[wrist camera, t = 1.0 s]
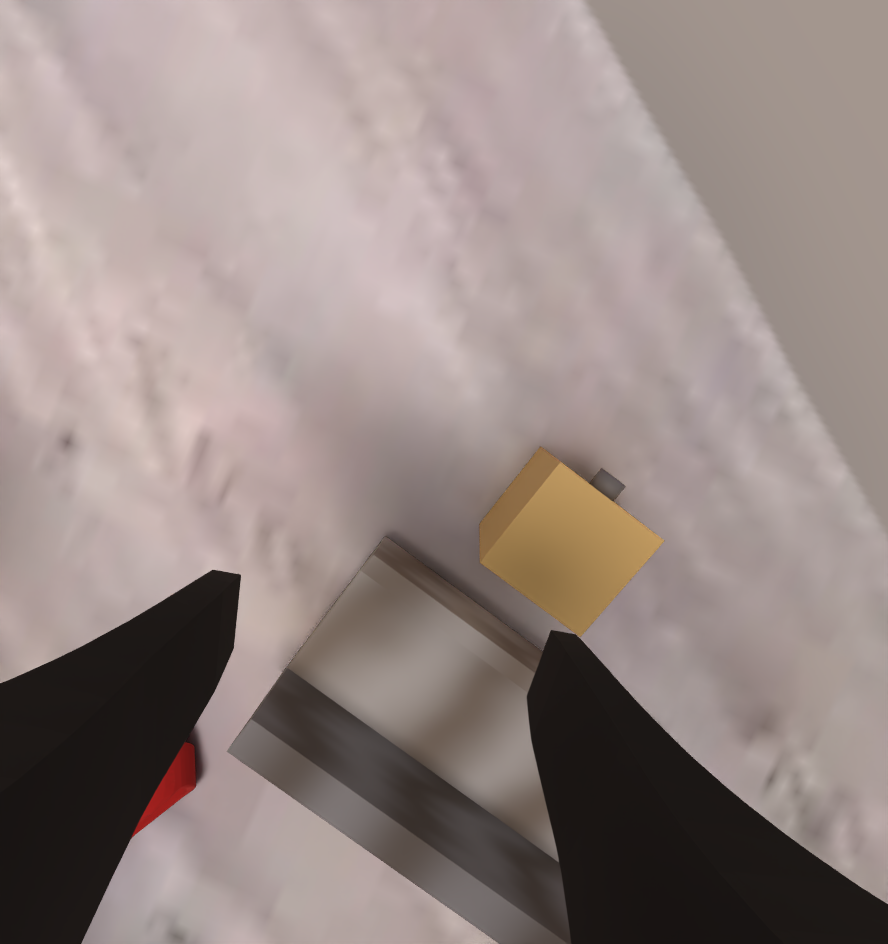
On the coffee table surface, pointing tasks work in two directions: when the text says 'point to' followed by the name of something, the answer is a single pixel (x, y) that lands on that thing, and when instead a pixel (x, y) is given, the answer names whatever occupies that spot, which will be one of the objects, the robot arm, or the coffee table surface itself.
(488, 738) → the board
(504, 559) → the cabinet block
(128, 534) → the coffee table surface
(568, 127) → the coffee table surface
